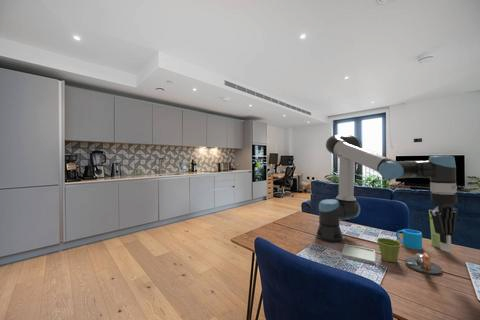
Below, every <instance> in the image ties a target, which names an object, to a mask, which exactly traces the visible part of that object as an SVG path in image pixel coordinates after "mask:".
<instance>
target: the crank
mask: <svg viewBox="0 0 480 320" xmlns="http://www.w3.org/2000/svg"><path fill="white" fill-rule="evenodd" d="M415 258H416V263H417V264H419V265H422V267H423V270H425V271H431V269H430V262H431V256H429V255H428V253H427V252H423V253H420V252H419V253H415Z"/></svg>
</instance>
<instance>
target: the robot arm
mask: <svg viewBox="0 0 480 320" xmlns="http://www.w3.org/2000/svg"><path fill="white" fill-rule="evenodd" d="M325 147H326V150H327V151H328V153H330V154H333V155H335V156H336V157H337V158H338V159H339V161H338V164H339V165H338V167H339V168H338V195H337V196H336V197H335V198H333V199H332V198H331V199H330V198H329V199H328V198H327V199H322V200H320V201H319V202H318V219H319V220H318V223H319V224H318V227H317V230H316V238H317V239H318V240H320V241H322V242H327V243H333V244H334V243H336V244H337V243H342V242H343V241H344V234H343V232H342V230H341V226H340V221H343V220H352V219H355V218H357V217H359V215H360V213H361V205H360V204H359V202H358V201H357V198H356V197H355V196H354V194H355V193H354V192H355V189H354V188H355V187H354V186H355V163H357V164H359V165H361V166H364V167H366V168H368V169H371V170H373V171H375V172H378V174H379V175H380V176H381V177H382V178H384V179H388V180H389V179H390V180H396V179H397V180H398V179H409V178H424V179H429V187H430V188H429V190H430V201H431V202H432V203H434V208H433V209H429V210H430V214H431V215H432V219H433V224H434V228H435V232H436V233H438V234H440V250H441V251H444V252H447V253H451V252H452V237H453V236H455V232H456V225H457V224H456V223H457V215H458V213H459V208H458V209H457V208H454V205H457V204H458V195H457V192H458V191H457V189H458V186H457V166H456V160H455V159H456V158H455V156H453V155H431V156H430V155H429V157H428V160H404V161H402V160H400V161H399V160H398V161H397V160H394V159H391V158H388V157H387V156H383V155H380V154H378V153H374V152H372V151H370V150H366V149H364V148H362V147H363V144H362V141H361V138H359V137H358V136H356V135H352V134H351V135H350V134H344V135H341V134H335V135H334V134H333V135H331V136H330V137H329V138H328V139H327V140H326V142H325ZM432 210H433V211H432ZM451 236H452V237H451Z"/></svg>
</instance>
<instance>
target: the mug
mask: <svg viewBox="0 0 480 320" xmlns="http://www.w3.org/2000/svg"><path fill="white" fill-rule="evenodd" d="M399 233H402V238H400V236H399ZM395 236H396V238H397V240H398V241H400V243H402V245H403V246H404V247H406V248H408V249H413V250H423V233H422V231H419V230H415V229H412V228H411V229H410V228H404V229H401V230H397V231H396V232H395Z"/></svg>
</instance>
